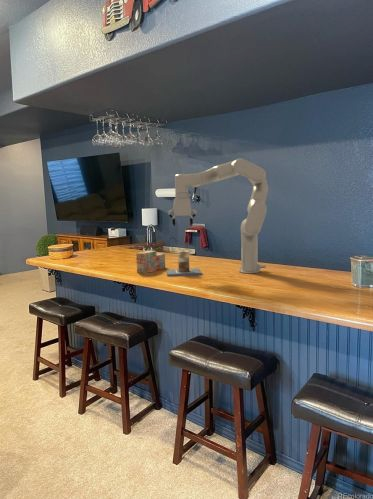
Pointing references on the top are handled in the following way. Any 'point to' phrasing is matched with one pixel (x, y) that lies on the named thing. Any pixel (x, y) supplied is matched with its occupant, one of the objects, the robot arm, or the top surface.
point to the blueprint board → (176, 272)
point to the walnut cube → (183, 266)
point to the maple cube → (183, 256)
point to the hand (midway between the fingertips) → (182, 225)
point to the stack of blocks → (149, 261)
